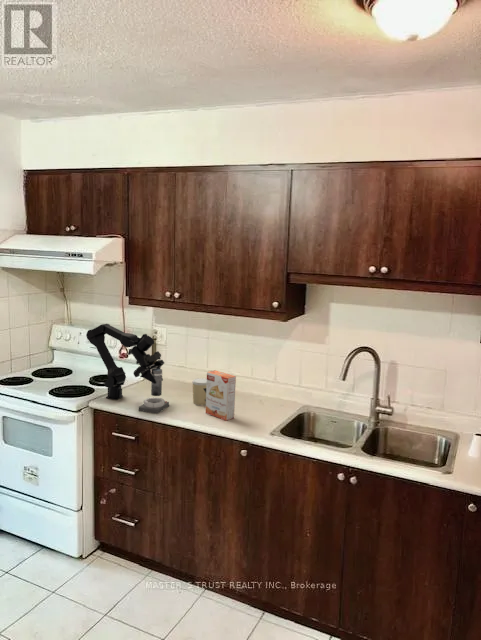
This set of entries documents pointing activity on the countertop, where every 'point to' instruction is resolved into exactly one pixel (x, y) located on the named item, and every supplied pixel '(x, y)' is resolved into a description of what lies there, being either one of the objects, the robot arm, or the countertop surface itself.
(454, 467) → the countertop surface
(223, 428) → the countertop surface
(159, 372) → the lens
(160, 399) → the camera body
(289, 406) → the countertop surface
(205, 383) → the coffee cup
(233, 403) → the cracker box
